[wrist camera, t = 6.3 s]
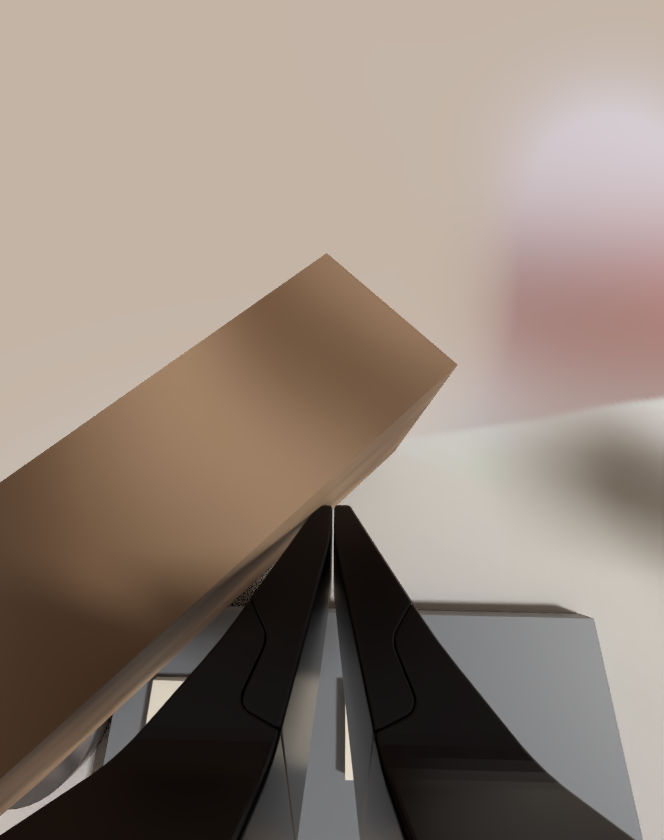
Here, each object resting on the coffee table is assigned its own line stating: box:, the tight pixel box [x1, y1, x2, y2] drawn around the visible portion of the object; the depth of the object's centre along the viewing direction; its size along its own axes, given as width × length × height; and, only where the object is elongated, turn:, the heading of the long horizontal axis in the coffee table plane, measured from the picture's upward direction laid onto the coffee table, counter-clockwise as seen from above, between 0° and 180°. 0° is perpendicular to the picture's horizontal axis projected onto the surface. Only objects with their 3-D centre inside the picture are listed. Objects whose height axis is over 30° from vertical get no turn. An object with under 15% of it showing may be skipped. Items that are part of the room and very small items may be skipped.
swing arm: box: [0, 254, 457, 816], centre depth 9 cm, size 18×4×8 cm, turn 132°
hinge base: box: [9, 717, 110, 809], centre depth 12 cm, size 5×5×1 cm
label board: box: [103, 606, 643, 840], centre depth 12 cm, size 18×7×1 cm, turn 89°
